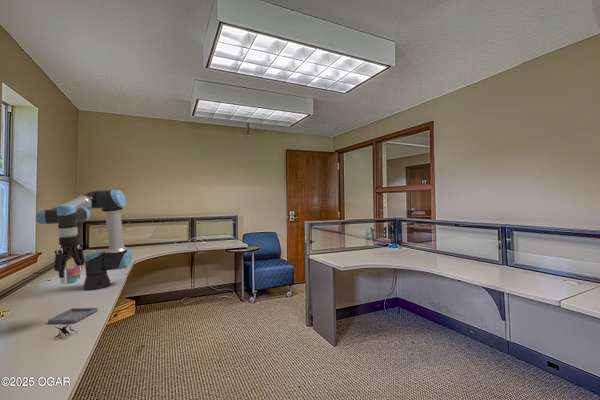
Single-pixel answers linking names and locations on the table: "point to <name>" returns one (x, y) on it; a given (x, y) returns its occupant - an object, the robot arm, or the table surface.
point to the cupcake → (72, 274)
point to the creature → (64, 331)
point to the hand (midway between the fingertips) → (71, 280)
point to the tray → (73, 315)
